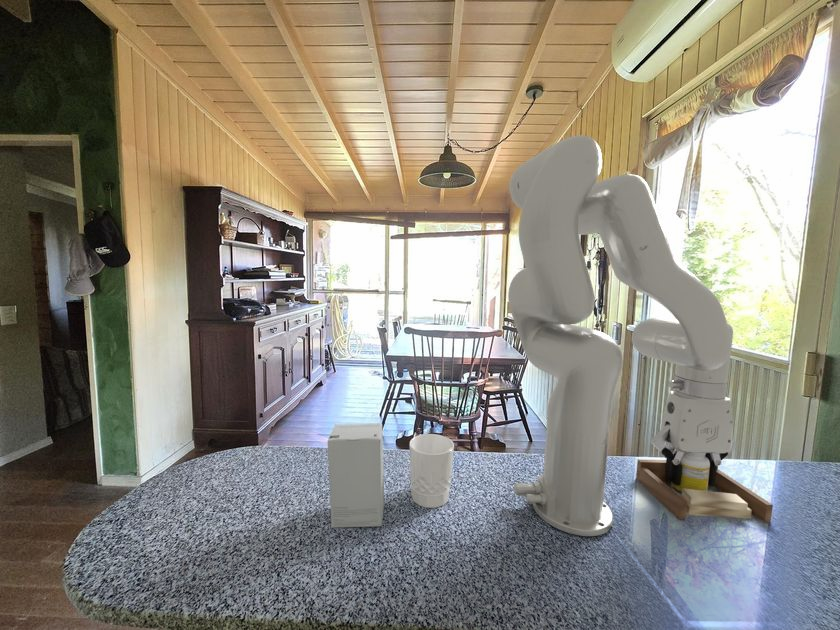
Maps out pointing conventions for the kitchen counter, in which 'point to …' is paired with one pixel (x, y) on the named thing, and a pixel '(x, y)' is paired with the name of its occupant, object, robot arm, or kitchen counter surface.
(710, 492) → the top offcut
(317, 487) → the kitchen counter surface
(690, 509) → the middle offcut
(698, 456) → the supplement bottle
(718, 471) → the walnut rack
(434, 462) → the white cup
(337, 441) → the skincare box
